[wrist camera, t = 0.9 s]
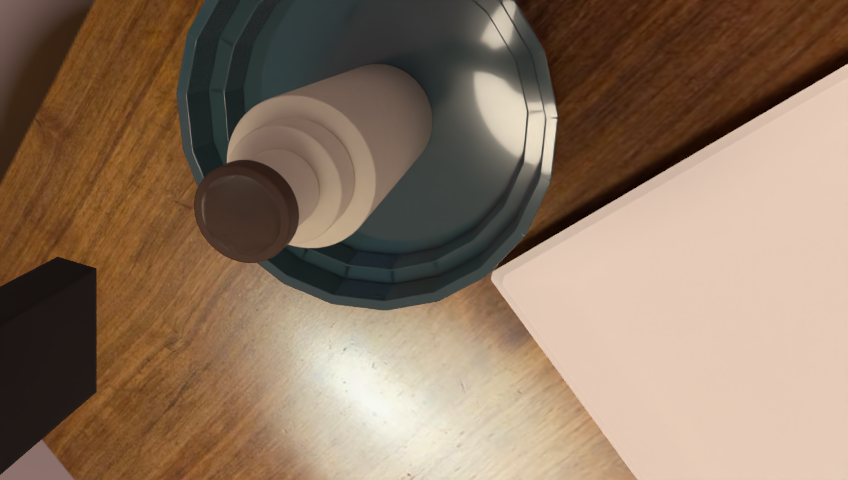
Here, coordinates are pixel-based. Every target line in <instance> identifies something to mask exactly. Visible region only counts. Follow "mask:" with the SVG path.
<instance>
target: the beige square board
mask: <svg viewBox="0 0 848 480" xmlns="http://www.w3.org/2000/svg"><path fill="white" fill-rule="evenodd" d="M491 281H492V282H493V283H494V285H495V286H496V287H497V289H498V290H499V292H500V293H501V294H502V296H503V297H504V298H505V300H506V301H507V302H508V304H509V305H510V307H511V308H512V309H513V311H514V312H515V313H516V315H517V316H518V317H519V319H520V320H521V322H522V323H523V324H524V326H525V327H526V328H527V330H528V331H529V333H530V334H531V335H532V337H533V338H534V339H535V341H536V342H537V343H538V345H539V346H540V348H541V349H542V350H543V352H544V353H545V354H546V356H547V357H548V358H549V360H550V361H551V363H552V364H553V365H554V367H555V368H556V369H557V371H558V372H559V373H560V375H561V376H562V378H563V379H564V380H565V382H566V383H567V384H568V386H569V387H570V388H571V390H572V391H573V393H574V394H575V395H576V397H577V398H578V399H579V401H580V402H581V404H582V405H583V406H584V408H585V409H586V410H587V412H588V413H589V414H590V416H591V417H592V419H593V420H594V421H595V423H596V424H597V425H598V427H599V428H600V429H601V431H602V432H603V434H604V435H605V436H606V438H607V439H608V440H609V442H610V443H611V444H612V446H613V447H614V449H615V450H616V451H617V453H618V454H619V455H620V457H621V458H622V459H623V461H624V462H625V464H626V465H627V466H628V468H629V469H630V470H631V472H632V473H633V475H634V476H635V477H636V479H637V480H848V64H847V65H845V66H843V67H842V68H840V69H838V70H836V71H835V72H833V73H831V74H830V75H828V76H826V77H824V78H823V79H821V80H819V81H818V82H816V83H814V84H813V85H811V86H809V87H807V88H806V89H804V90H802V91H801V92H799V93H797V94H795V95H794V96H792V97H790V98H789V99H787V100H785V101H783V102H782V103H780V104H778V105H777V106H775V107H773V108H771V109H770V110H768V111H766V112H765V113H763V114H761V115H760V116H758V117H756V118H754V119H753V120H751V121H749V122H748V123H746V124H744V125H742V126H741V127H739V128H737V129H736V130H734V131H732V132H730V133H729V134H727V135H725V136H724V137H722V138H720V139H718V140H717V141H715V142H713V143H712V144H710V145H708V146H707V147H705V148H703V149H701V150H700V151H698V152H696V153H695V154H693V155H691V156H689V157H688V158H686V159H684V160H683V161H681V162H679V163H677V164H676V165H674V166H672V167H671V168H669V169H667V170H666V171H664V172H662V173H660V174H659V175H657V176H655V177H654V178H652V179H650V180H648V181H647V182H645V183H643V184H642V185H640V186H638V187H636V188H635V189H633V190H631V191H630V192H628V193H626V194H624V195H623V196H621V197H619V198H618V199H616V200H614V201H613V202H611V203H609V204H607V205H606V206H604V207H602V208H601V209H599V210H597V211H595V212H594V213H592V214H590V215H589V216H587V217H585V218H583V219H582V220H580V221H578V222H577V223H575V224H573V225H571V226H570V227H568V228H566V229H565V230H563V231H561V232H560V233H558V234H556V235H554V236H553V237H551V238H549V239H548V240H546V241H544V242H542V243H541V244H539V245H537V246H536V247H534V248H532V249H530V250H529V251H527V252H525V253H524V254H522V255H520V256H518V257H517V258H515V259H513V260H512V261H510V262H508V263H507V264H505V265H503V266H501V267H500V268H498V269H496V270H495V271H493V273H492V278H491Z"/></svg>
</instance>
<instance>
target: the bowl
mask: <svg viewBox="0 0 848 480" xmlns="http://www.w3.org/2000/svg"><path fill="white" fill-rule="evenodd" d="M370 64H385V65H390V66H393V67H396V68H399V69H401V70H403V71H404V72H406V73H407V74H409V75H410V76H411V77H413V78H414V79H415V80H416V81H417V82H418V83H419V85H420V86H421V87H422V89H423V90H424V92H425V94H426V95H427V97H428V100H429V103H430V106H431V110H432V117H433V126H432V133H431V136H430V140H429V142H428V144H427V146H426V148H425V150H424V151H423V153H422V154H421V155H420V156H419V157H418V159H417V160H416V161H415V162H414V163H413V164H412V166H411V167H410V168H409V169H408V170H407V172H406V173H405V174H404V175H403V176H402V177H401V179H400V180H399V181H398V182H397V183H396V185H395V186H394V187H393V188H392V189H391V190H390V192H389V193H388V194H387V195H386V196H385V198H384V199H383V200H382V201H381V202H380V204H379V205H378V206H377V207H376V208H375V209H374V211H373V212H372V213H371V214H370V215H369V217H368V218H367V219H366V220H365V221H364V222H363V224H362V225H361V226H360V227H359V228H358V229H357V230H356V231H355V232H354V233H353V234H352V235H350V236H349V237H347V238H346V239H344V240H342V241H340V242H338V243H336V244H333V245H330V246H326V247H320V248H303V247H296V246H292V245H288V244H287V245H286V246H285V247H284V248H283V249H282V250H281V251H280V252H279V253H278V254H277V255H275V256H274V257H272V258H270V259H268V260H266V261H262V262H257V263H258V264H259V265H260V266H262V267H263V268H264V269H265V270H267V271H268V272H269V273H271V274H272V275H273V276H274V277H276V278H277V279H278V280H279V281H281V282H283V283H284V284H286V285H288V286H291V287H293V288H295V289H298V290H300V291H303V292H305V293H307V294H310V295H312V296H314V297H317V298H319V299H321V300H324V301H326V302H329V303H331V304H336V305H345V306H353V307H361V308H369V309H377V310H391V309H397V308H403V307H409V306H415V305H420V304H426V303H432V302H437V301H440V300H442V299H444V298H446V297H448V296H450V295H452V294H453V293H455V292H457V291H459V290H461V289H463V288H465V287H467V286H469V285H471V284H473V283H474V282H476V281H478V280H480V279H482V278H484V277H486V276H487V275H488V274H489V273H490V272H491V271H492V270H493V269H494V268H495V267H496V266H497V265H498V264H499V263H500V262H501V261H502V260H503V259H504V258H505V257H506V256H507V255H508V253H509V252H510V251H511V250H512V249H513V248H514V247H515V246H516V245H517V244H518V243H519V242H520V241H521V240H522V239H523V238H524V237H525V235H526V234H527V232H528V230H529V228H530V226H531V224H532V222H533V219H534V217H535V215H536V213H537V211H538V209H539V207H540V205H541V202H542V200H543V198H544V196H545V194H546V192H547V190H548V188H549V185H550V183H551V180H552V173H553V164H554V155H555V146H556V138H557V129H558V120H559V115H558V101H557V96H556V92H555V87H554V82H553V77H552V73H551V68H550V63H549V58H548V54H547V49H546V45H545V42H544V41H543V39H542V37H541V36H540V34H539V32H538V30H537V29H536V27H535V25H534V24H533V22H532V20H531V18H530V17H529V15H528V13H527V12H526V10H525V8H524V6H523V5H522V3H521V1H520V0H205V2H204V3H203V5H202V7H201V9H200V11H199V13H198V14H197V16H196V18H195V20H194V22H193V24H192V25H191V27H190V29H189V31H188V34H187V37H186V42H185V48H184V54H183V59H182V65H181V70H180V76H179V81H178V87H177V102H178V111H179V119H180V128H181V137H182V145H183V150H184V154H185V156H186V158H187V161H188V163H189V166H190V168H191V171H192V173H193V176H194V178H195V181H196V183H197V185H198V186H199V184H200V183H201V181H202V180H203V179H204V177H205V176H206V175H207V174H209V173H210V172H211V171H213V170H215V169H216V168H218V167H220V166H222V165H224V164H226V163H227V152H228V146H229V142H230V139H231V136H232V134H233V131H234V129H235V127H236V126H237V124H238V123H239V121H240V120H241V118H242V117H243V116H244V115H245V114H246V113H247V112H248V111H249V110H250V109H252V108H253V107H254V106H256V105H257V104H259V103H261V102H263V101H265V100H268V99H270V98H273V97H275V96H278V95H281V94H284V93H287V92H290V91H293V90H296V89H298V88H301V87H304V86H307V85H310V84H313V83H316V82H319V81H321V80H324V79H327V78H330V77H333V76H336V75H339V74H342V73H344V72H347V71H350V70H353V69H356V68H359V67H362V66H365V65H370Z"/></svg>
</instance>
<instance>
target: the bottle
mask: <svg viewBox="0 0 848 480" xmlns="http://www.w3.org/2000/svg"><path fill="white" fill-rule="evenodd" d="M432 126H433V117H432V110H431V106H430V103H429V100H428V97H427V95H426V94H425V92H424V90H423V89H422V87H421V86H420V85H419V83H418V82H417V81H416V80H415V79H414V78H413V77H411V76H410V75H409V74H407V73H406V72H404V71H403V70H401V69H399V68H396V67H393V66H390V65H385V64H370V65H365V66H362V67H359V68H356V69H353V70H350V71H347V72H344V73H342V74H339V75H336V76H333V77H330V78H327V79H324V80H321V81H319V82H316V83H313V84H310V85H307V86H304V87H301V88H298V89H296V90H293V91H290V92H287V93H284V94H281V95H278V96H275V97H273V98H270V99H268V100H265V101H263V102H261V103H259V104H257V105H256V106H254V107H253V108H252V109H250V110H249V111H248V112H247V113H246V114H245V115H244V116H243V117H242V118H241V120H240V121H239V123H238V124H237V126H236V127H235V129H234V131H233V134H232V136H231V139H230V142H229V146H228V152H227V163H226V164H224V165H222V166H220V167H218V168H216V169H215V170H213V171H211V172H210V173H209V174H207V175H206V176H205V177H204V179H203V180H202V181H201V183H200V184H199V186H198V189H197V191H196V195H195V200H194V211H195V217H196V221H197V224H198V226H199V229H200V230H201V232H202V234H203V236H204V237H205V239H206V240H207V241H208V242H209V244H210V245H211V246H212V247H213V248H215V249H216V250H217V251H218V252H220V253H221V254H223V255H224V256H226V257H228V258H230V259H233V260H236V261H239V262H245V263H257V262H262V261H266V260H268V259H270V258H272V257H274V256H275V255H277V254H278V253H279V252H280V251H281V250H282V249H283V248H284V247H285V246H286V245H287V244H288V245H292V246H296V247H303V248H320V247H326V246H330V245H333V244H336V243H338V242H340V241H342V240H344V239H346V238H347V237H349V236H350V235H352V234H353V233H354V232H355V231H356V230H357V229H358V228H359V227H360V226H361V225H362V224H363V222H364V221H365V220H366V219H367V218H368V217H369V215H370V214H371V213H372V212H373V211H374V209H375V208H376V207H377V206H378V205H379V204H380V202H381V201H382V200H383V199H384V198H385V196H386V195H387V194H388V193H389V192H390V190H391V189H392V188H393V187H394V186H395V185H396V183H397V182H398V181H399V180H400V179H401V177H402V176H403V175H404V174H405V173H406V172H407V170H408V169H409V168H410V167H411V166H412V164H413V163H414V162H415V161H416V160H417V159H418V157H419V156H420V155H421V154H422V153H423V151H424V150H425V148H426V146H427V144H428V142H429V140H430V136H431V133H432Z"/></svg>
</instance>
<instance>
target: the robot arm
mask: <svg viewBox="0 0 848 480" xmlns="http://www.w3.org/2000/svg"><path fill="white" fill-rule="evenodd" d="M95 393H96V268H93V267H90V266H86V265H83V264H80V263H76V262H73V261H70V260H66V259H63V258H60V257H56V258H54V259H53V260H51V261H49V262H47V263H45V264H43V265H41V266H39V267H37V268H35V269H33V270H31V271H29V272H28V273H26V274H24V275H22V276H20V277H18V278H16V279H14V280H12V281H10V282H8V283H6V284H4V285H2V286H1V287H0V475H1V474H2V473H3V472H4V471H5V470H6V469H8V468H9V467H10V466H11V465H12V464H13V463H14V462H15V461H17V460H18V459H19V458H20V457H21V456H23V455H24V454H25V453H26V452H27V451H28V450H30V449H31V448H32V447H33V446H34V445H35V444H36V443H38V442H39V441H40V440H41V439H42V438H44V437H45V436H46V435H47V434H48V433H49V432H50V431H52V430H53V429H54V428H55V427H56V426H57V425H59V424H60V423H61V422H62V421H63V420H64V419H66V418H67V417H68V416H69V415H70V414H71V413H73V412H74V411H75V410H76V409H77V408H78V407H79V406H81V405H82V404H83V403H84V402H85V401H86V400H88V399H89V398H90V397H91V396H92V395H93V394H95Z"/></svg>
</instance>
